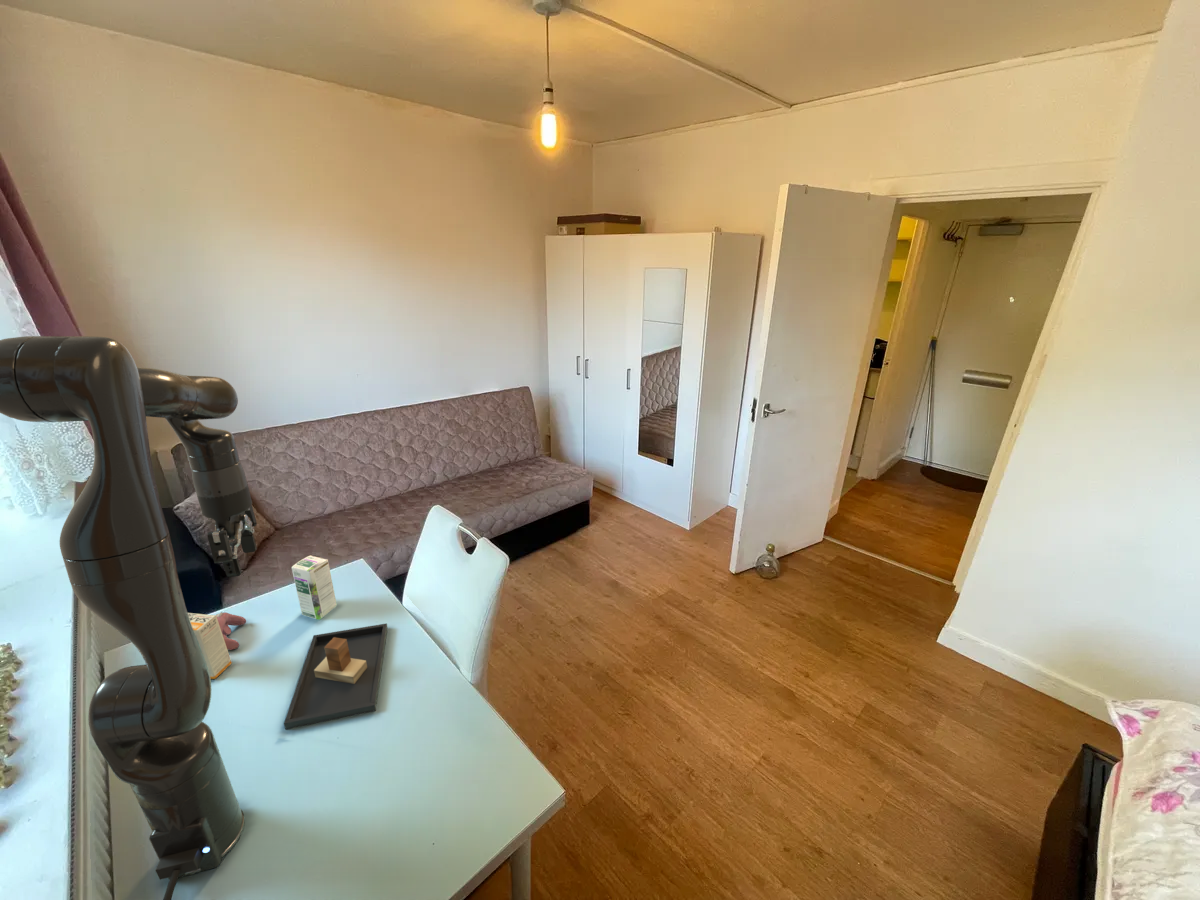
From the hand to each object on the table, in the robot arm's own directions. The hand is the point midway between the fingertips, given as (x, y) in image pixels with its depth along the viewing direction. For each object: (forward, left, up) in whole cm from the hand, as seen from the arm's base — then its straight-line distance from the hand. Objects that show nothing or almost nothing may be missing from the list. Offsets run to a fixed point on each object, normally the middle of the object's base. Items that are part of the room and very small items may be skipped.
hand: (242, 562), depth 94 cm
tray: (-5, -14, -27) cm, 31 cm away
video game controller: (+13, +13, -28) cm, 33 cm away
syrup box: (+18, -5, -28) cm, 33 cm away
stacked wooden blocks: (-5, -14, -27) cm, 31 cm away
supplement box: (+4, +14, -28) cm, 31 cm away
